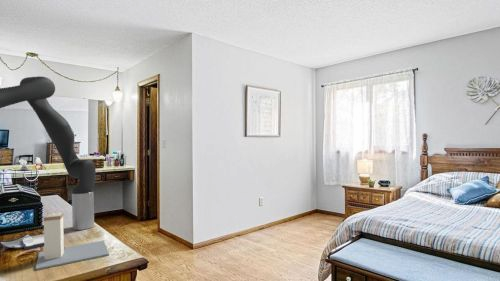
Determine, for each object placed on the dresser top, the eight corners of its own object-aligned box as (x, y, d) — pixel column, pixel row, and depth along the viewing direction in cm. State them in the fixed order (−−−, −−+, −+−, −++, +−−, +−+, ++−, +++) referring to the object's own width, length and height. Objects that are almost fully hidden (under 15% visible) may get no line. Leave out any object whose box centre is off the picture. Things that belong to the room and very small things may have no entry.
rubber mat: (39, 253, 111) (39, 251, 111) (103, 241, 123) (103, 240, 123) (35, 270, 97) (35, 268, 97) (108, 255, 109) (108, 253, 109)
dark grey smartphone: (21, 241, 126) (24, 251, 115) (21, 237, 126) (24, 247, 115) (46, 236, 132) (51, 245, 121) (45, 233, 132) (51, 241, 121)
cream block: (44, 259, 104) (43, 217, 103) (48, 254, 108) (47, 214, 108) (61, 257, 106) (60, 216, 105) (64, 252, 110) (63, 212, 110)
